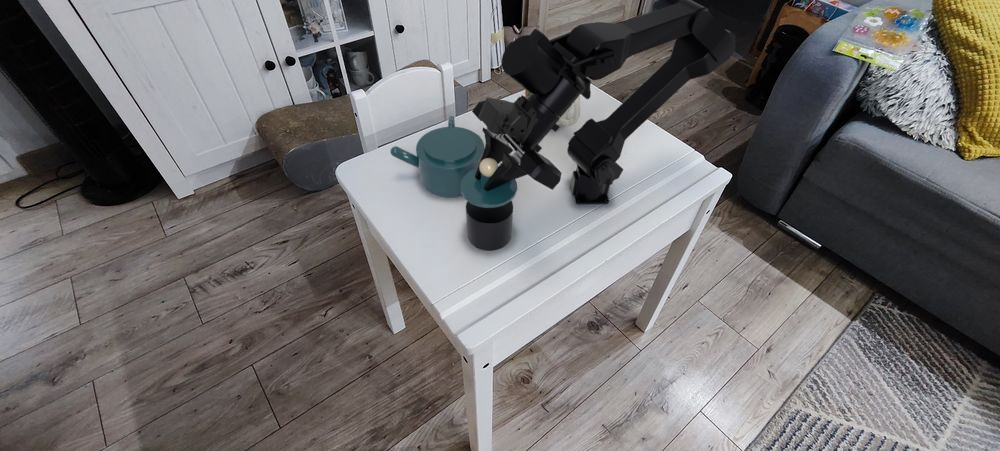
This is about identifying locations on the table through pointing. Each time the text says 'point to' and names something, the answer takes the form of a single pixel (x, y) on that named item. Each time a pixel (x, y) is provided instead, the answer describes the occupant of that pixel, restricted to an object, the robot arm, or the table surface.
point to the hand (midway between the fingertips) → (481, 184)
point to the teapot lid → (475, 188)
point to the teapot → (444, 158)
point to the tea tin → (489, 226)
